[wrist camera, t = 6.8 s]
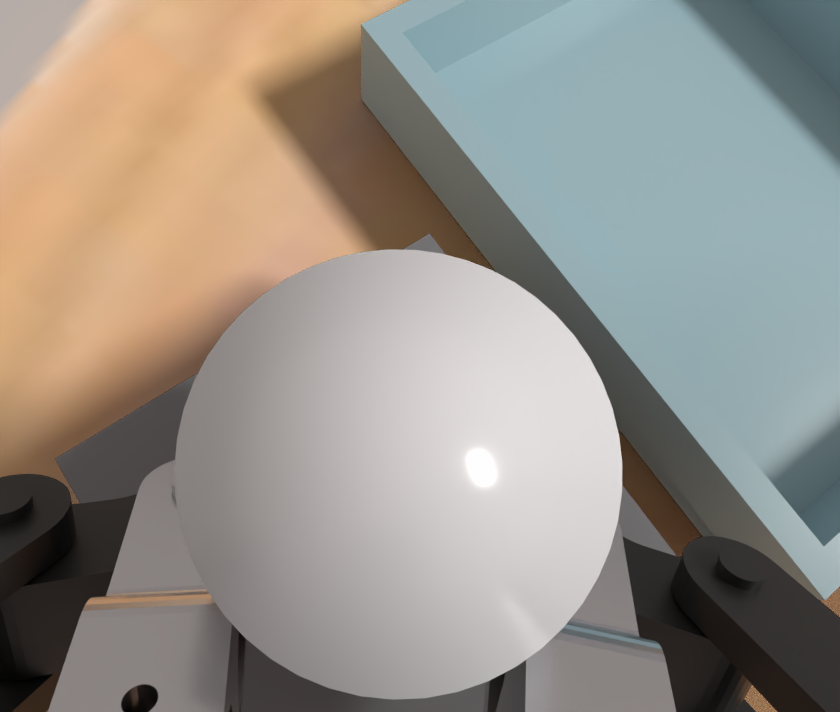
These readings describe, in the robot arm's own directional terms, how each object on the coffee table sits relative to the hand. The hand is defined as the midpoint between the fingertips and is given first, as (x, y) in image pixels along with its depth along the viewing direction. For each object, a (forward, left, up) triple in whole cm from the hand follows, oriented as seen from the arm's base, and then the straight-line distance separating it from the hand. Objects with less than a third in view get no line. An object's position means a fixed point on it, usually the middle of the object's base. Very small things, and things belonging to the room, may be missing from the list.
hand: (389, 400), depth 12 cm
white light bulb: (+1, +2, -4) cm, 5 cm away
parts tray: (-13, 0, -5) cm, 14 cm away
